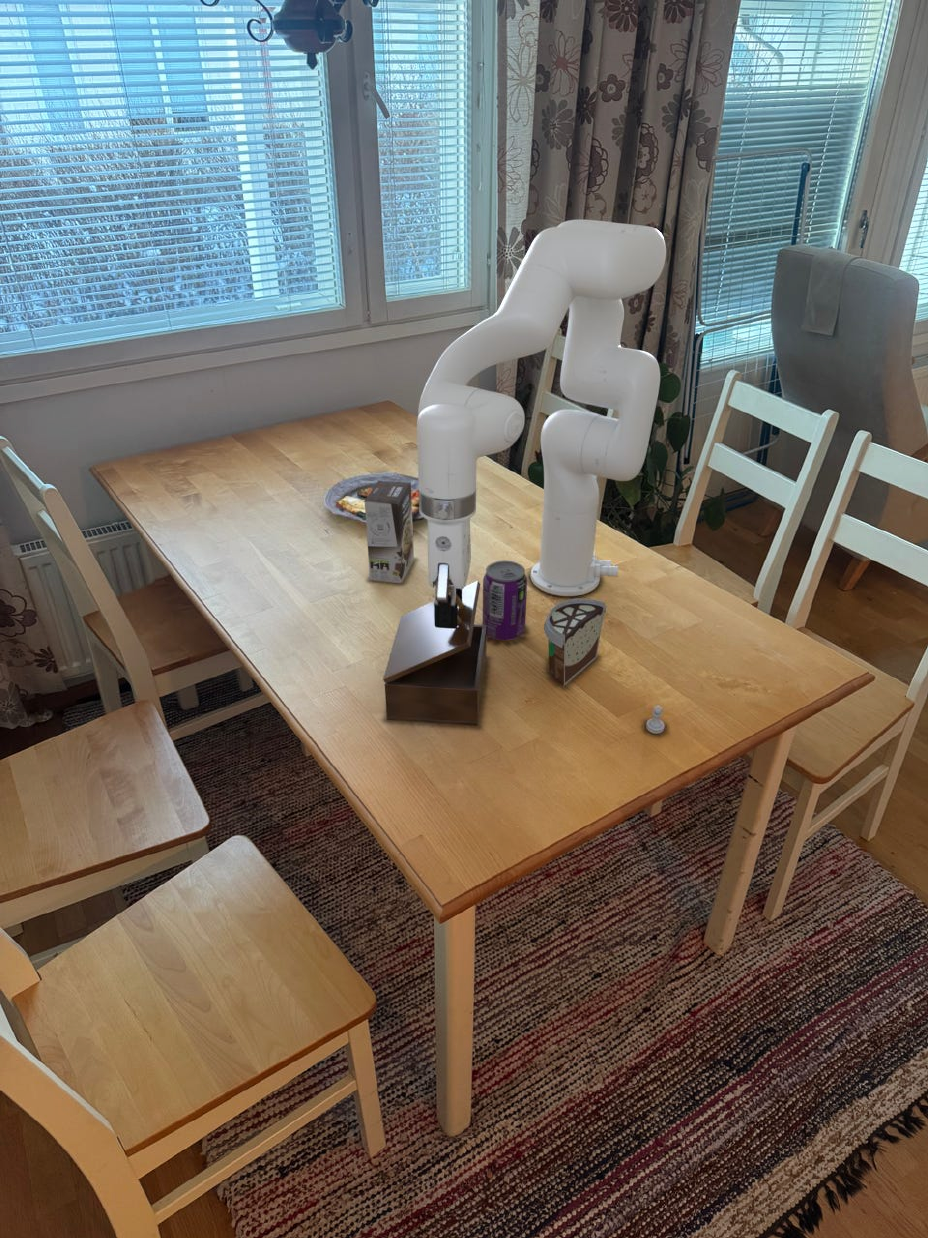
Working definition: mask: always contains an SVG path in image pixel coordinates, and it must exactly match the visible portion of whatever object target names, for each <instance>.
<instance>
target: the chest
mask: <svg viewBox="0 0 928 1238" xmlns="http://www.w3.org/2000/svg"><path fill="white" fill-rule="evenodd" d="M487 637H488V636H487V625H482V624H475V623H474V627H473V633H472V639H471V645H470V647H469V648H466V649H464V650H462V651H459V652H457V653H455V654H453V655H450V656H448V657H446V658H443V659H441V660H439V661H437V662H434V663H432V664H430V665H427V666H425V667H423V668H420V669H418V670H416V671H414V672H411V673H409V674H407V675H404V676H402V677H400V678H397V679H395V680H393V681H391V682H388V683H385V682H384V685H383V686H384V697H385V698H384V699H385V714H386V715H385V716H386V721H397V722H413V723H428V724H443V725H457V726H459V725H461V726H471V727H472V726H473V727H477V726H478V724H479V716H480V709H481V700H482V693H483V685H484V679H485V672H486V665H487V664H486V663H487V641H488V640H487V639H488V638H487Z"/></svg>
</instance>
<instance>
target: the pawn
mask: <svg viewBox="0 0 928 1238" xmlns="http://www.w3.org/2000/svg"><path fill="white" fill-rule="evenodd" d="M652 711H653V712H652V716H653V718H650V719H647V721H646V723H645V727H646V730H647V731H648V732H649V733H651V734H656V735H658V734H661V733H663V732H664V730H665V727H666V725H665V723H664V721H663V720H661V717H662V715H663V707H661V706H660V705H656V706H654V707H653V710H652Z"/></svg>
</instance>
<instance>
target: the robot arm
mask: <svg viewBox="0 0 928 1238" xmlns="http://www.w3.org/2000/svg"><path fill="white" fill-rule="evenodd" d="M666 260H667V246H666V241H665V237H664V236H663V234H662V232H660V231H659V230H658V228H655V227H653V226H649V225H641V224H631V223H623V222H622V223H621V222H613V221H607V220H595V219H570V220H566V221H563V222H560V223H559V224H558V225H557V226H552V227H548V228H545V229H543V230H542V231H540V232H539V233H538V234H537V235H536V236H535V237H534V239H533V240H532V242H531V244H530V246H529V248H528V250H527V252H526V254H525V255H524V257H523V259H522V261H521V263H520V265H519V267H518V268H517V272H516V273H515V275H514V277H513V280H512V281H511V283H510V285H509V287H508V289H507V291H506V294H505V295H504V297H503V299H502V301H501V303H500V305H499V307H498V309H497V310H496V312H494V314H493V315H491V316H489V317H488V318H486V319H484V320H482V321H480V322H479V323H477V324H476V325H474V326H473V327H472V328H470V329H468V330H467V331H466V332H465V333H464V334H462V335H461V336H459V337H458V338H456V340H454V341H453V342H452V343H451V344H450V345H449V346H447V348H446V349H445V350H444V351H443V352H442V353H441V355H440V357H439V358H438V359H437V362H436V363H435V366H434V368H433V370H431V371H432V372H431V373H430V376H429V377H428V379H427V382H425V385H424V387H423V391H422V393H421V396H420V399H419V403H418V410H417V411H418V413H417V415H418V416H417V419H416V443H417V444H416V445H417V447H416V448H417V478H418V481H419V512H420V514H421V515H422V516H423V517H424V518H423V519H426V520H427V564H428V565H427V566H428V567H427V568H428V582H429V586H430V587H432V588H434V589H435V590H434V601H435V602H434V620H435V627H437V628H451V629H456V628H457V625H458V603H455V602H456V594H457V595H458V596H459V598H460V599H461V601H462V589H463V588H464V587H465V586H467V583H468V582H467V581H468V577H469V572H470V567H471V561H472V547H471V546H472V545H471V544H472V542H471V518H473V517H474V516H475V514H476V512H477V462H478V461H477V460H478V459H480V458H482V457H487V456H490V455H494V454H497V453H501V452H503V451H505V450H507V449H509V448H511V447H512V446H513V445H514V444H515V443H516V442H517V441H518V439H519V438H520V437H521V435H522V432H523V430H524V427H525V420H526V419H525V418H526V417H525V411H524V408H523V407H522V405H521V403H520V402H519V401H518V400H517V399H515V398H514V397H512V396H510V395H508V394H505V393H500V392H497V391H492V390H487V389H483V388H481V387H480V388H479V387H475V386H471V385H470V386H469V385H468V383H469V382H470V381H472V379H473V378H474V377H475V376H477V375H478V374H480V373H481V372H483V371H484V370H486V369H488V368H490V367H493V366H495V365H498V364H501V363H505V362H508V361H512V360H517V359H520V358H524V357H528V356H530V355H535V354H538V353H540V352H543V351H545V350H546V349H548V348H549V347H550V346H551V345H552V343H553V341H554V340H555V338H556V335H557V334H558V331H559V329H560V326H561V325H562V322H563V320H564V318H565V317H566V314H567V312H568V310H569V312H568V323H567V329H566V336H565V341H564V348H563V355H562V361H561V367H560V376H559V387H560V391H561V392H562V394H563V396H565V397H566V398H567V399H569V400H571V401H574V402H577V403H581V404H585V405H590V406H594V407H598V408H604V409H608V410H613V411H616V412H617V414H618V418H615V417H610V416H606V415H602V414H598V413H594V412H589V411H585V410H584V411H583V410H579V409H560V410H557V411H554V412H553V413H551V414H550V415H549V416H548V417H547V418H546V419H545V421H544V423H543V425H542V428H541V432H540V450H541V457H542V464H543V501H542V519H541V534H540V535H541V536H540V550H539V551H540V553H539V561H538V562H536V563H535V564H534V565H533V566H532V567H531V569H530V581H531V582H532V584H533V585H534V586H535V587H536V588H537V589H539V590H541V591H542V592H545V593H547V594H550V595H554V596H557V597H558V596H560V597H577V596H583V595H586V594H589V593H590V592H593V591H594V590H596V588H597V587H598V586H599V584H600V581H601V576H602V577H603V576H606V577H615V578H617V577H619V576H618V575H619V566H618V565H612V560H608V559H599V558H596V554H595V552H596V551H595V543H596V533H597V524H598V523H597V522H598V514H599V513H598V512H599V504H600V503H599V501H600V488H599V485H598V481H597V478H596V477H601V478H605V479H609V480H613V481H617V482H618V481H619V482H629V481H631V480H633V479H635V478H636V477H637V476H638V475H639V474H640V471H641V470H642V468H643V465H644V462H645V459H646V456H647V451H648V448H649V441H650V436H651V433H652V427H653V422H654V418H655V412H656V408H657V402H658V397H659V393H660V392H659V391H660V384H661V369H660V365H659V362H658V360H657V358H656V357H655V356H654V355H653V354H651V353H650V352H647V351H644V350H640V349H634V348H629V347H623V346H622V344H621V337H622V331H623V327H624V325H623V324H624V320H625V307H624V304H623V299H625V298H628V297H632V296H634V295H637V294H640V293H642V292H645V291H647V290H648V289H650V288H652V286H653V285H655V283H656V282H657V281H658V280H659V278H660V276H661V274H662V272H663V271H664V267H665V264H666ZM448 580H450V581H452V583H448ZM448 589H451V596H450V595H448V592H447V591H448Z"/></svg>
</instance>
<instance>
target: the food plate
mask: <svg viewBox="0 0 928 1238" xmlns="http://www.w3.org/2000/svg"><path fill="white" fill-rule="evenodd" d="M378 481H387V482H390V481H391V482H407V483H411V501H412V523H414V522H419V521H422V520H424V519H425V518H424V517H423V516H422V515H421V514H420V512H419V481H418V477H414V476H412V475H406V474H402V473H397V472H384V471H383V472H374V473H368V474H359V475H355V476H354V475H353V476H351V477H348V478H345V479H342V480H340V481H338V482H337V483H335V484H334V485H333V486H331V487H330V488H328V489H327V490H326V492H325V495H324V497H323V504H324V506H325V507H326V508H327V510H328V511H330V513H332V514H333V515H337V516H341V517H344V518H347V519H350V520H353V521H358V522H361V523H365V524H366V513H365V500H366V498H367V497H368V495H369V494H370V492H371V491H372V489H373V488H374V486H375V485H376V483H377V482H378Z"/></svg>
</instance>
